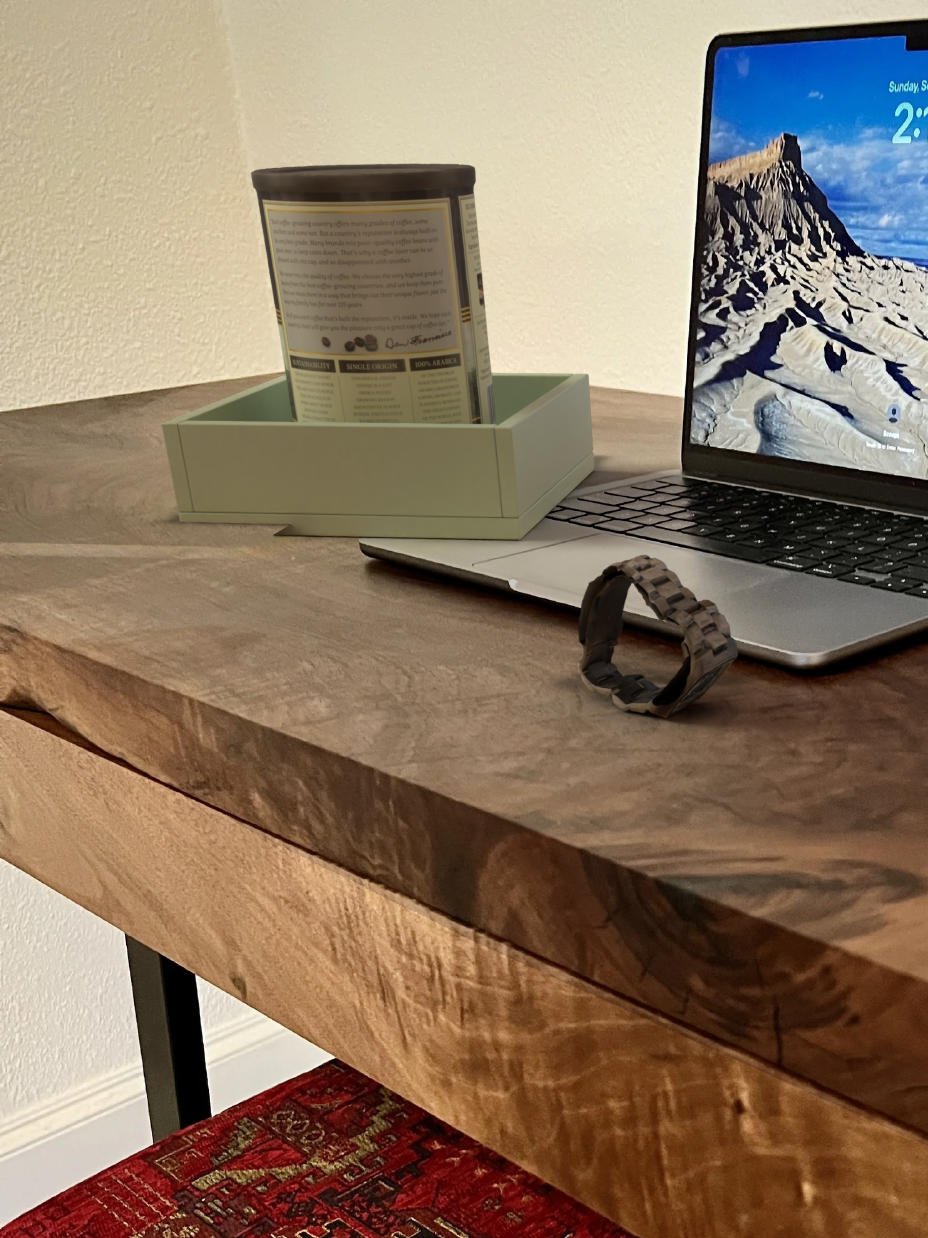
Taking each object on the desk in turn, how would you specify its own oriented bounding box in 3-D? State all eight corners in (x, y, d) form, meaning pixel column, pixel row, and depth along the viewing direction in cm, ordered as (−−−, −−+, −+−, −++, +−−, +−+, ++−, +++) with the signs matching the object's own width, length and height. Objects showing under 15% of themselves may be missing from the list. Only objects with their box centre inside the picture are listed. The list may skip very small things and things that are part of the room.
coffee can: (272, 474, 84) (222, 167, 76) (457, 452, 88) (426, 162, 81) (338, 509, 76) (290, 172, 69) (536, 484, 81) (510, 166, 74)
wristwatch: (628, 756, 54) (711, 663, 51) (543, 634, 54) (620, 534, 51) (684, 740, 56) (767, 649, 53) (602, 623, 57) (680, 526, 53)
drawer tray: (181, 533, 76) (160, 423, 74) (307, 465, 91) (293, 370, 88) (521, 540, 75) (511, 427, 72) (595, 469, 89) (588, 373, 87)
